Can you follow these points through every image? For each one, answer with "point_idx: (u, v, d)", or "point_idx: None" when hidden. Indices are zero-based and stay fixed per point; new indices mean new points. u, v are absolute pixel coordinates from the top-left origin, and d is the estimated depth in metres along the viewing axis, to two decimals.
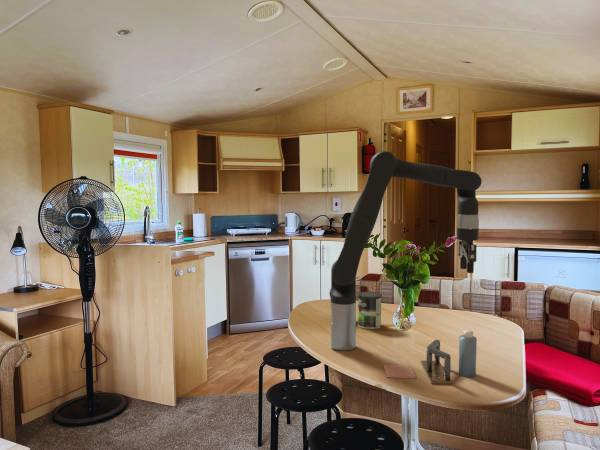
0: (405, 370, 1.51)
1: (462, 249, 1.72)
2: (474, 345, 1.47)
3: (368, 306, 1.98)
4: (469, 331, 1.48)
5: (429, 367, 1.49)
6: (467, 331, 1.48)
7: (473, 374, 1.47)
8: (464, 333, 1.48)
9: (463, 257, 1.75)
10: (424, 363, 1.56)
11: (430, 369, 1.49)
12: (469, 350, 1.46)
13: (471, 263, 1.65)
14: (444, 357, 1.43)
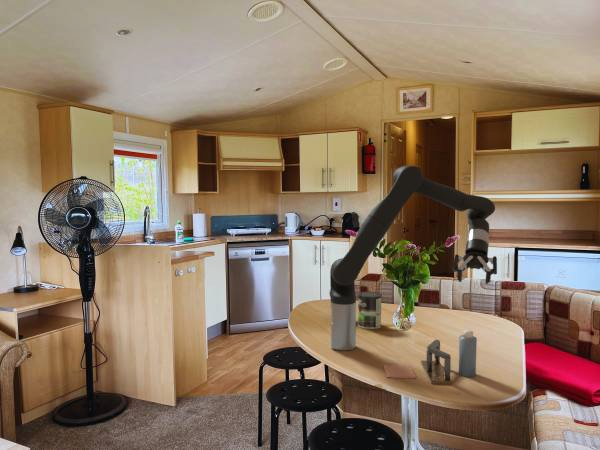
0: (405, 370, 1.51)
1: (470, 260, 1.62)
2: (474, 345, 1.47)
3: (368, 306, 1.98)
4: (469, 331, 1.48)
5: (429, 367, 1.49)
6: (467, 331, 1.48)
7: (473, 374, 1.47)
8: (464, 333, 1.48)
9: (461, 270, 1.62)
10: (424, 363, 1.56)
11: (430, 369, 1.49)
12: (469, 350, 1.46)
13: (490, 274, 1.58)
14: (444, 357, 1.43)
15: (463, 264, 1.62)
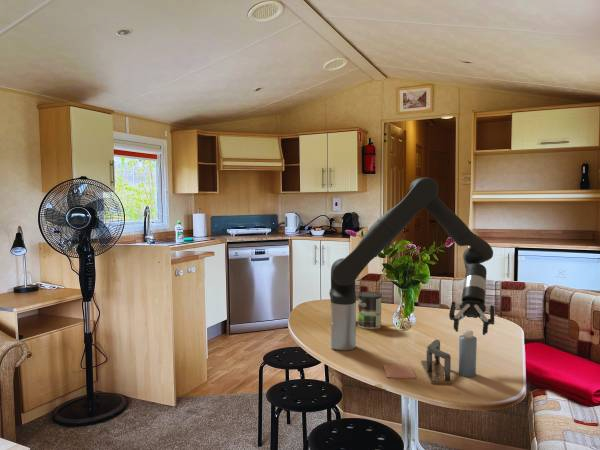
0: (405, 370, 1.51)
1: (467, 309, 1.58)
2: (474, 345, 1.47)
3: (368, 306, 1.98)
4: (469, 331, 1.48)
5: (429, 367, 1.49)
6: (467, 331, 1.48)
7: (473, 374, 1.47)
8: (464, 333, 1.48)
9: (458, 319, 1.58)
10: (424, 363, 1.56)
11: (430, 369, 1.49)
12: (469, 350, 1.46)
13: (488, 324, 1.54)
14: (444, 357, 1.43)
15: (460, 313, 1.58)
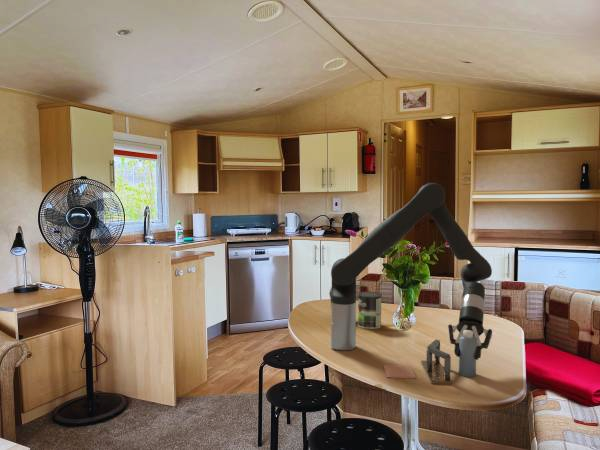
0: (405, 370, 1.51)
1: None
2: (474, 345, 1.47)
3: (368, 306, 1.98)
4: (469, 331, 1.48)
5: (429, 367, 1.49)
6: (467, 331, 1.48)
7: (473, 374, 1.47)
8: (464, 333, 1.48)
9: None
10: (424, 363, 1.56)
11: (430, 369, 1.49)
12: (469, 350, 1.46)
13: (481, 348, 1.48)
14: (444, 357, 1.43)
15: (459, 336, 1.51)
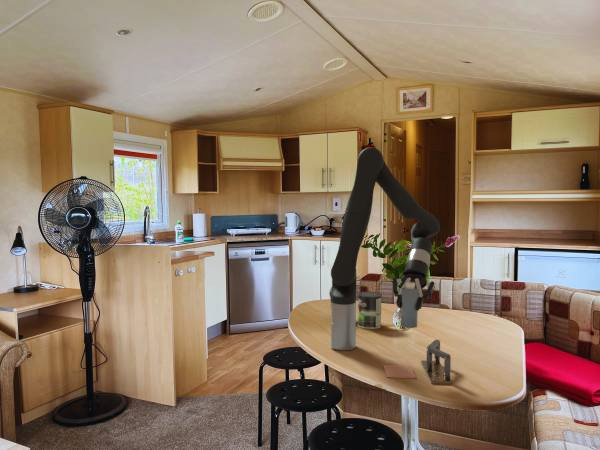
0: (405, 370, 1.51)
1: None
2: (415, 296, 1.47)
3: (368, 306, 1.98)
4: (411, 282, 1.49)
5: (429, 367, 1.49)
6: (409, 282, 1.49)
7: (414, 325, 1.48)
8: (406, 284, 1.49)
9: None
10: (424, 363, 1.56)
11: (430, 369, 1.49)
12: (410, 301, 1.47)
13: (422, 300, 1.49)
14: (444, 357, 1.43)
15: None
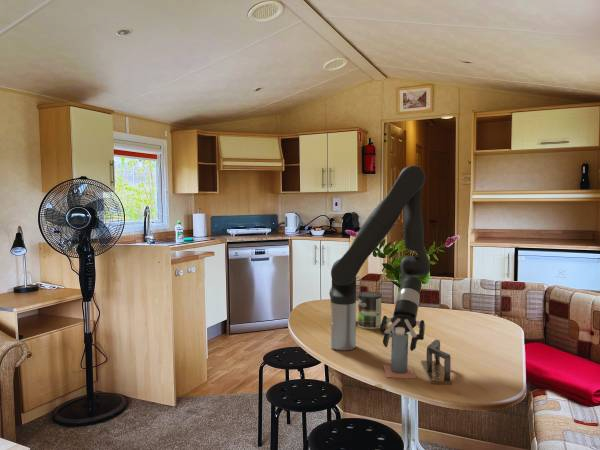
0: None
1: (397, 324, 1.54)
2: (405, 342, 1.48)
3: (368, 306, 1.98)
4: (401, 328, 1.50)
5: (429, 367, 1.49)
6: (399, 328, 1.50)
7: (404, 371, 1.49)
8: (396, 330, 1.50)
9: (388, 333, 1.54)
10: (424, 363, 1.56)
11: (430, 369, 1.49)
12: (400, 347, 1.48)
13: (416, 340, 1.50)
14: (444, 357, 1.43)
15: (390, 327, 1.54)
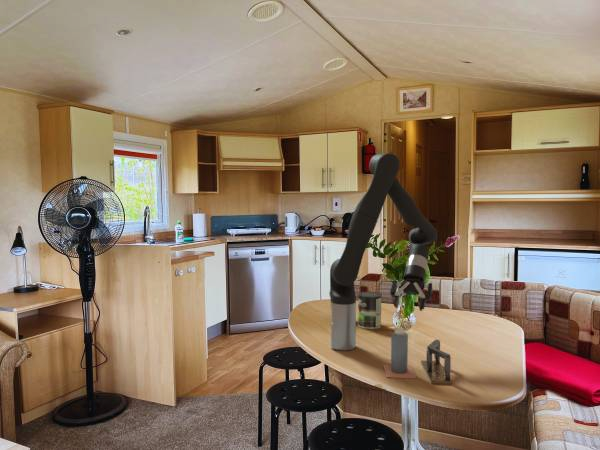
0: None
1: (407, 287, 1.65)
2: (404, 342, 1.49)
3: (368, 306, 1.98)
4: (400, 328, 1.50)
5: (429, 367, 1.49)
6: (398, 328, 1.50)
7: (404, 371, 1.49)
8: (395, 330, 1.50)
9: (398, 296, 1.65)
10: (424, 363, 1.56)
11: (430, 369, 1.49)
12: (400, 347, 1.48)
13: (425, 301, 1.60)
14: (444, 357, 1.43)
15: (400, 290, 1.65)
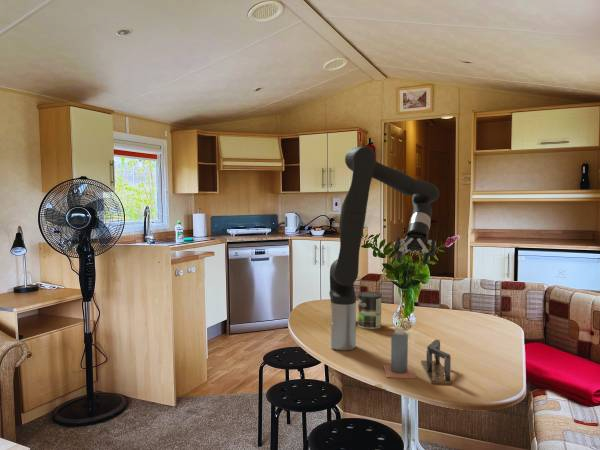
0: None
1: (410, 243, 1.67)
2: (404, 342, 1.49)
3: (368, 306, 1.98)
4: (400, 328, 1.50)
5: (429, 367, 1.49)
6: (399, 328, 1.50)
7: (404, 371, 1.49)
8: (395, 330, 1.50)
9: (402, 252, 1.67)
10: (424, 363, 1.56)
11: (430, 369, 1.49)
12: (400, 347, 1.48)
13: (428, 255, 1.63)
14: (444, 357, 1.43)
15: (403, 246, 1.67)
